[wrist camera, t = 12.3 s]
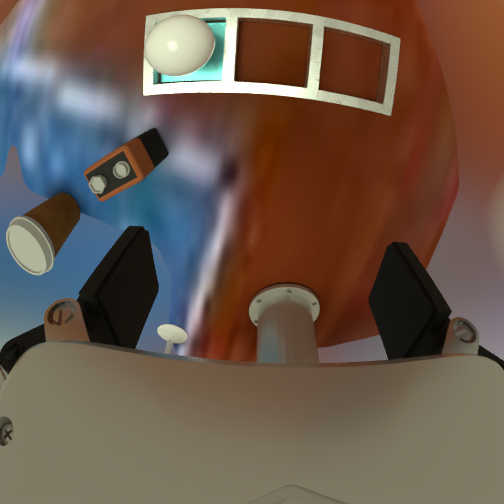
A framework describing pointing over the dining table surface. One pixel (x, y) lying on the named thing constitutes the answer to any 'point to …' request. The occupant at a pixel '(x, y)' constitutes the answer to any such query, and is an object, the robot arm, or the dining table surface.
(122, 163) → the battery
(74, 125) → the dining table surface
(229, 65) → the rail
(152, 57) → the lightbulb
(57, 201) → the disposable coffee cup
